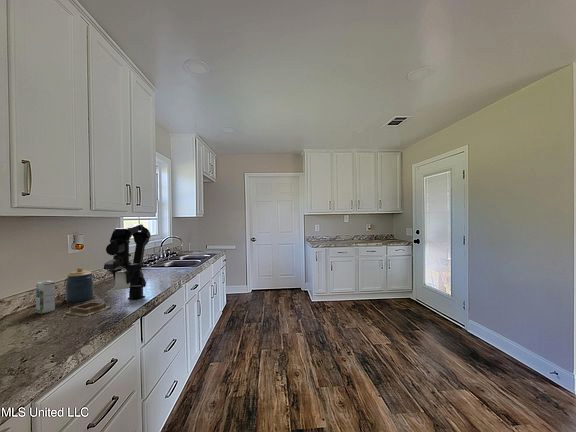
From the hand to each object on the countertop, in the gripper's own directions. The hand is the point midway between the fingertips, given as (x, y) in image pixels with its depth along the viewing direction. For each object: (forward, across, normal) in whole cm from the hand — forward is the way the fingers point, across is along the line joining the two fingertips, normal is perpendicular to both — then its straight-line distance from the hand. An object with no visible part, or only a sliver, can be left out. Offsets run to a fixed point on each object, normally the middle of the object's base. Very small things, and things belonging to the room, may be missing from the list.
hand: (122, 283), depth 140 cm
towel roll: (+2, 0, 0) cm, 2 cm away
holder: (+12, -12, -8) cm, 19 cm away
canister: (+12, -37, +5) cm, 39 cm away
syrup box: (+12, -32, -15) cm, 37 cm away
